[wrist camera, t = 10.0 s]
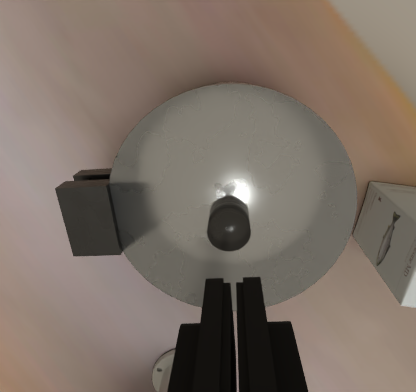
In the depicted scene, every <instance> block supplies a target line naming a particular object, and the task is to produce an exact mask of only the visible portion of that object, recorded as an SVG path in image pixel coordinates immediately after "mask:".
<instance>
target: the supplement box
mask: <svg viewBox="0 0 416 392" xmlns="http://www.w3.org/2000/svg"><path fill="white" fill-rule="evenodd" d="M353 237H354V238H355V240H356V241H357V243H358V244H359V246H360V247H361V248H362V250H363V251H364V253H365V254H366V256H367V257H368V258H369V260H370V261H371V263H372V264H373V266H374V267H375V269H376V270H377V272H378V273H379V274H380V276H381V277H382V279H383V280H384V282H385V283H386V284H387V286H388V287H389V289H390V290H391V292H392V293H393V295H394V296H395V297H396V299H397V300H398V302H399V303H400V305H401V306H407V307H414V308H416V187H412V186H405V185H397V184H389V183H381V182H373V181H371V182H370V183H369V187H368V190H367V194H366V197H365V201H364V204H363V207H362V210H361V213H360V216H359V219H358V222H357V224H356V227H355V230H354V232H353Z"/></svg>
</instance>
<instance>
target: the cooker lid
mask: <svg viewBox="0 0 416 392" xmlns="http://www.w3.org/2000/svg"><path fill="white" fill-rule="evenodd" d="M55 190H56V194H57V197H58V201H59V205H60V208H61V212H62V216H63V219H64V223H65V227H66V230H67V234H68V238H69V241H70V245H71V249H72V252H73V256H101V255H121V253H122V252H124V254H125V255H126V257H127V258H128V260H129V261H130V262H131V264H132V265H133V266H134V267H135V269H136V270H137V271H138V272H139V273H140V274H141V275H142V276H143V277H144V278H145V279H147V280H148V281H149V282H150V283H152V284H153V285H154V286H155V287H157V288H158V289H160V290H161V291H163V292H165V293H166V294H168V295H170V296H172V297H174V298H176V299H178V300H180V301H183V302H185V303H188V304H191V305H194V306H198V307H202V306H203V297H204V289H205V281H206V279H209V278H223V279H224V283H231V295H232V309H233V311H237V300H236V282H243V277H260V278H261V284H262V291H263V297H264V304H265V307H268V306H271V305H275V304H278V303H280V302H283V301H285V300H288V299H290V298H292V297H294V296H296V295H298V294H299V293H301V292H303V291H304V290H306V289H307V288H309V287H310V286H312V285H313V284H314V283H316V282H317V281H318V280H319V279H320V278H321V277H322V276H323V275H325V274H326V272H327V271H328V270H329V269H330V268H331V267H332V266H333V264H334V263H335V262H336V260H337V259H338V257H339V256H340V254H341V253H342V251H343V250H344V248H345V245H346V243H347V241H348V239H349V237H350V234H351V231H352V228H353V225H354V221H355V215H356V210H357V188H356V180H355V175H354V171H353V168H352V164H351V161H350V159H349V157H348V155H347V152H346V150H345V148H344V146H343V145H342V143H341V141H340V140H339V138H338V137H337V135H336V134H335V132H334V131H333V130H332V129H331V128H330V127H329V126H328V125H327V123H326V122H325V121H324V120H323V119H322V118H321V117H319V116H318V115H317V114H316V113H315V112H313V111H312V110H311V109H310V108H308V107H307V106H305V105H303V104H302V103H300V102H298V101H297V100H295V99H294V98H292V97H290V96H287V95H285V94H283V93H280V92H278V91H276V90H273V89H269V88H265V87H262V86H258V85H251V84H243V83H220V84H213V85H207V86H202V87H199V88H195V89H192V90H189V91H186V92H184V93H182V94H179V95H177V96H175V97H173V98H171V99H169V100H167V101H166V102H164V103H163V104H161V105H160V106H158V107H156V108H155V109H153V110H152V111H151V112H150V113H149V114H148V115H146V116H145V117H144V118H143V119H142V120H141V121H140V122H139V123H138V124H137V125H136V126H135V127H134V129H133V130H132V131H131V132H130V133H129V135H128V136H127V138H126V139H125V141H124V143H123V144H122V146H121V148H120V150H119V152H118V154H117V156H116V158H115V161H114V164H113V167H112V171H111V174H110V179H103V180H84V181H65V182H64V183H62V184H61V185H60V186H58V187H57V188H55Z"/></svg>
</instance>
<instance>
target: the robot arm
mask: <svg viewBox="0 0 416 392" xmlns="http://www.w3.org/2000/svg"><path fill="white" fill-rule="evenodd" d="M236 300H237V335H238V370H239V392H308V389H307V385H306V381H305V376H304V372H303V368H302V364H301V360H300V356H299V352H298V348H297V344H296V340H295V336H294V332H293V328H292V324H291V322H290V321H283V322H267V317H266V311H265V304H264V297H263V291H262V284H261V278H260V277H243V282H236ZM152 383H153V386H154V388H155V390H156V392H237V384H236V350H235V336H234V323H233V309H232V295H231V283H224V279H223V278H209V279H206V281H205V289H204V297H203V306H202V314H201V322H200V323H194V324H181V326H180V329H179V334H178V339H177V344H176V349H175V350H172V351H170V352H167V353H165V354H164V355H163V356H161V357H160V358H159V360H158V361H157V362H156V364H155V366H154V369H153V373H152Z"/></svg>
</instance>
